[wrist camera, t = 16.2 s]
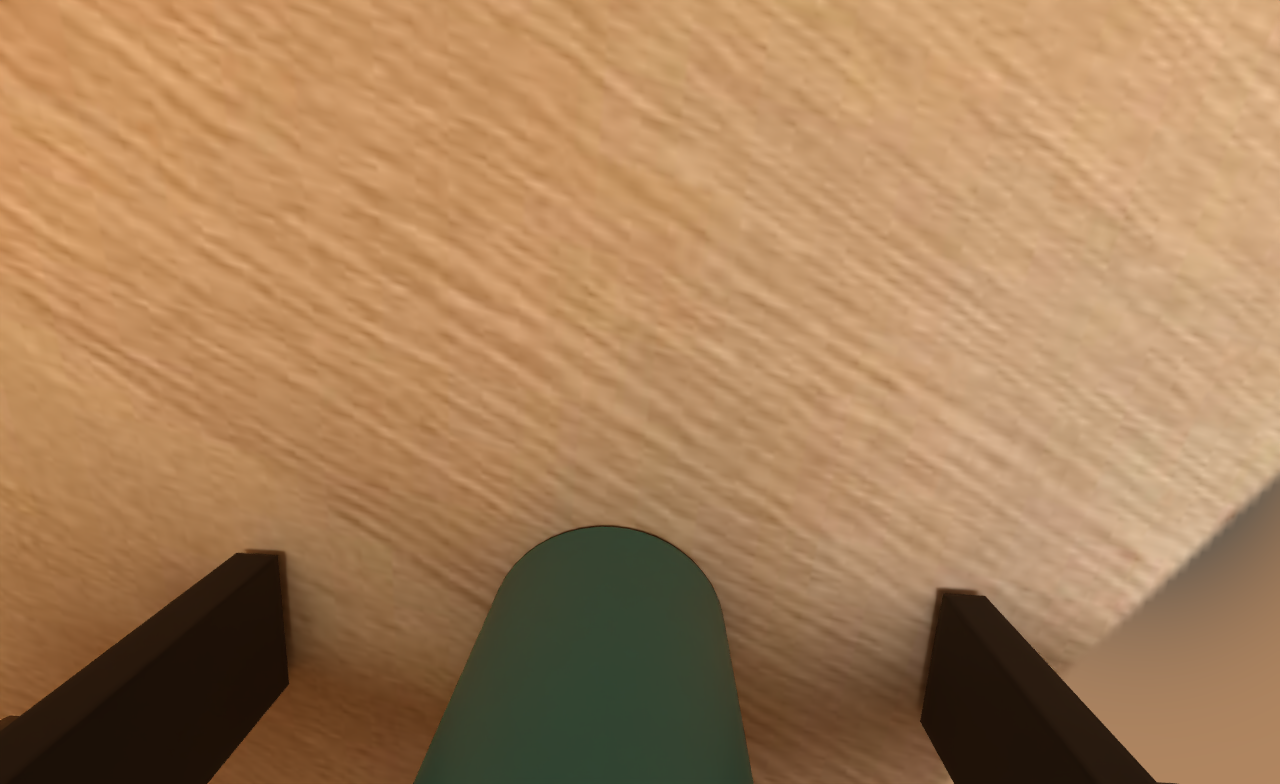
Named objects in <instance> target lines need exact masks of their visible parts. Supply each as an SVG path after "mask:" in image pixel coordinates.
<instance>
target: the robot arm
mask: <svg viewBox="0 0 1280 784" xmlns="http://www.w3.org/2000/svg"><path fill="white" fill-rule="evenodd" d="M288 685H289V678H288V667H287V656H286V644H285V633H284V622H283V611H282V600H281V588H280V577H279V566H278V555H264V554H246V553H236V554H234V555H233V556H232V557H230V558H229V559H228V560H227V561H225V562H224V563H223V564H221V565H220V566H219V567H217V568H216V569H215V570H213V571H212V572H211V573H209V574H208V575H207V576H205V577H204V578H203V579H201V580H200V581H199V582H197V583H196V584H195V585H193V586H192V587H191V588H189V589H188V590H187V591H185V592H184V593H183V594H181V595H180V596H179V597H177V598H176V599H175V600H173V601H172V602H171V603H169V604H168V605H167V606H166V607H164V608H163V609H162V610H160V611H159V612H158V613H156V614H155V615H154V616H152V617H151V618H150V619H148V620H147V621H146V622H144V623H143V624H142V625H140V626H139V627H138V628H136V629H135V630H134V631H132V632H131V633H130V634H128V635H127V636H126V637H124V638H123V639H122V640H120V641H119V642H118V643H116V644H115V645H114V646H112V647H111V648H110V649H108V650H107V651H106V652H105V653H103V654H102V655H101V656H99V657H98V658H97V659H95V660H94V661H93V662H91V663H90V664H89V665H87V666H86V667H85V668H83V669H82V670H81V671H79V672H78V673H77V674H75V675H74V676H73V677H71V678H70V679H69V680H67V681H66V682H65V683H63V684H62V685H61V686H59V687H58V688H57V689H55V690H54V691H53V692H51V693H50V694H49V695H47V696H46V697H45V698H44V699H42V700H41V701H40V702H38V703H37V704H36V705H34V706H33V707H32V708H30V709H29V710H28V711H26V712H25V713H24V714H22V715H21V716H8V717H6V718H4V719H2V720H0V784H207V783H208V782H209V781H210V780H211V779H212V777H213V776H214V775H215V774H216V772H217V771H218V770H219V769H220V768H221V766H222V765H223V764H224V763H225V761H226V760H227V759H228V758H229V757H230V755H231V754H232V753H233V752H234V750H235V749H236V748H237V747H238V746H239V744H240V743H241V742H242V741H243V739H244V738H245V737H246V736H247V735H248V733H249V732H250V731H251V730H252V728H253V727H254V726H255V725H256V724H257V722H258V721H259V720H260V719H261V717H262V716H263V715H264V714H265V713H266V711H267V710H268V709H269V708H270V707H271V705H272V704H273V703H274V702H275V700H276V699H277V698H278V697H279V696H280V694H281V693H282V692H283V691H284V689H285V688H286V687H287V686H288ZM920 722H921V724H922V726H923V728H924V729H925V731H926V733H927V735H928V737H929V738H930V740H931V742H932V744H933V746H934V748H935V749H936V751H937V753H938V755H939V757H940V759H941V760H942V762H943V764H944V766H945V768H946V770H947V771H948V773H949V775H950V777H951V779H952V780H953V782H954V784H1175V783H1158V782H1156V781H1155V780H1154V779H1153V778H1152V777H1151V776H1150V775H1149V773H1148V772H1147V771H1146V770H1145V769H1144V768H1143V767H1142V766H1141V765H1140V764H1139V763H1138V762H1137V760H1136V759H1135V758H1134V757H1133V756H1132V755H1131V754H1130V753H1129V752H1128V751H1127V750H1126V748H1125V747H1124V746H1123V745H1122V744H1121V743H1120V742H1119V741H1118V740H1117V739H1116V738H1115V737H1114V735H1112V733H1111V732H1110V731H1109V730H1108V729H1107V728H1106V727H1105V726H1104V725H1103V724H1102V723H1101V721H1100V720H1099V719H1098V718H1097V717H1096V716H1095V715H1094V714H1093V713H1092V712H1091V710H1090V709H1089V708H1087V706H1086V705H1085V704H1084V703H1083V702H1082V701H1081V700H1080V699H1079V698H1078V696H1077V695H1076V694H1075V693H1074V692H1073V691H1072V690H1071V689H1070V688H1069V687H1068V686H1067V684H1066V683H1065V682H1064V681H1063V680H1062V679H1061V678H1060V677H1059V676H1058V675H1057V674H1056V672H1055V671H1054V670H1053V669H1052V668H1051V667H1050V666H1049V665H1048V664H1047V663H1046V662H1045V661H1044V659H1043V658H1042V657H1041V656H1040V655H1039V654H1038V653H1037V652H1036V651H1035V650H1034V649H1033V648H1032V646H1031V645H1030V644H1029V643H1028V642H1027V641H1026V640H1025V639H1024V638H1023V637H1022V636H1021V634H1020V633H1019V632H1018V631H1017V630H1016V629H1015V628H1014V627H1013V626H1012V625H1011V624H1010V623H1009V621H1008V620H1007V619H1006V618H1005V617H1004V616H1003V615H1002V614H1001V613H1000V612H999V611H998V610H997V608H996V607H995V606H994V605H993V604H992V603H991V602H990V601H989V600H988V599H987V598H986V597H985V596H975V595H958V594H943V598H942V603H941V609H940V614H939V620H938V625H937V631H936V636H935V642H934V648H933V653H932V659H931V664H930V670H929V675H928V681H927V686H926V692H925V698H924V703H923V709H922V714H921V720H920Z"/></svg>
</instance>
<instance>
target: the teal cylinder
mask: <svg viewBox="0 0 1280 784" xmlns="http://www.w3.org/2000/svg"><path fill="white" fill-rule="evenodd" d="M413 784H754V783H753V777H752V772H751V766H750V761H749V756H748V750H747V745H746V739H745V734H744V728H743V723H742V717H741V712H740V706H739V701H738V695H737V690H736V684H735V679H734V673H733V668H732V662H731V657H730V651H729V646H728V640H727V635H726V629H725V624H724V619H723V614H722V610H721V607H720V603H719V600H718V598H717V596H716V593H715V591H714V589H713V587H712V586H711V584H710V582H709V581H708V579H707V578H706V576H705V575H704V574H703V572H702V571H701V570H700V569H699V568H698V566H697V565H696V564H695V563H694V562H693V561H691V560H690V559H689V558H688V557H687V556H686V555H685V554H683V553H682V552H681V551H679V550H678V549H676V548H675V547H673V546H672V545H670V544H668V543H666V542H664V541H663V540H661V539H659V538H657V537H654V536H651V535H649V534H646V533H643V532H639V531H635V530H631V529H626V528H617V527H592V528H584V529H578V530H574V531H570V532H566V533H563V534H561V535H558V536H556V537H553V538H551V539H549V540H547V541H545V542H543V543H542V544H540V545H538V546H536V547H535V548H534V549H532V550H531V551H530V552H528V553H527V554H526V555H524V556H523V557H522V558H521V559H520V560H519V561H518V562H517V563H516V564H515V565H514V566H513V568H512V569H511V570H510V572H509V573H508V574H507V576H506V577H505V579H504V581H503V582H502V584H501V586H500V588H499V590H498V592H497V594H496V597H495V599H494V601H493V603H492V606H491V608H490V610H489V612H488V615H487V617H486V619H485V622H484V624H483V626H482V628H481V631H480V633H479V635H478V637H477V640H476V642H475V644H474V647H473V649H472V651H471V653H470V656H469V658H468V660H467V662H466V665H465V667H464V669H463V672H462V674H461V676H460V678H459V681H458V683H457V685H456V687H455V690H454V692H453V694H452V696H451V699H450V701H449V703H448V706H447V708H446V710H445V712H444V715H443V717H442V719H441V721H440V724H439V726H438V728H437V731H436V733H435V735H434V737H433V740H432V742H431V744H430V746H429V749H428V751H427V753H426V756H425V758H424V760H423V762H422V765H421V767H420V769H419V771H418V774H417V776H416V778H415V781H414V783H413Z"/></svg>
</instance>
